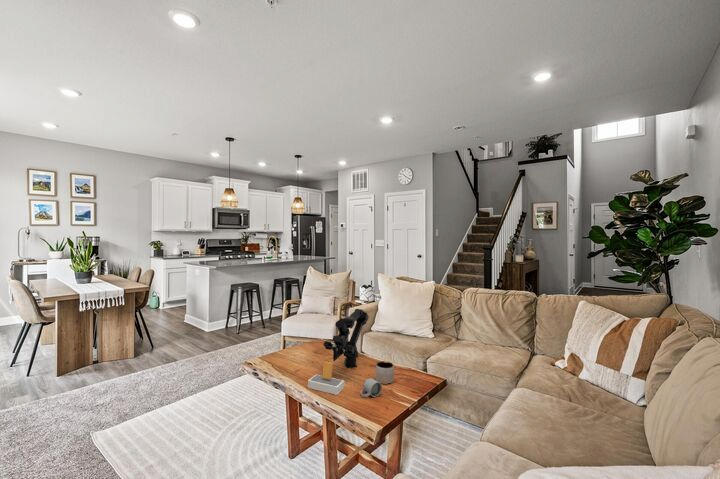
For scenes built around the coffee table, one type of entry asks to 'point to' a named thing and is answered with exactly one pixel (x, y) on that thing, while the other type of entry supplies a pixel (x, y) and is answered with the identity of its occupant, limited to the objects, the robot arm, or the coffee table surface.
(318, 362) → the coffee table surface
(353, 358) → the robot arm
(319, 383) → the breaker housing
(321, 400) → the coffee table surface
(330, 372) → the lever
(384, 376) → the planter
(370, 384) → the ceramic mug
